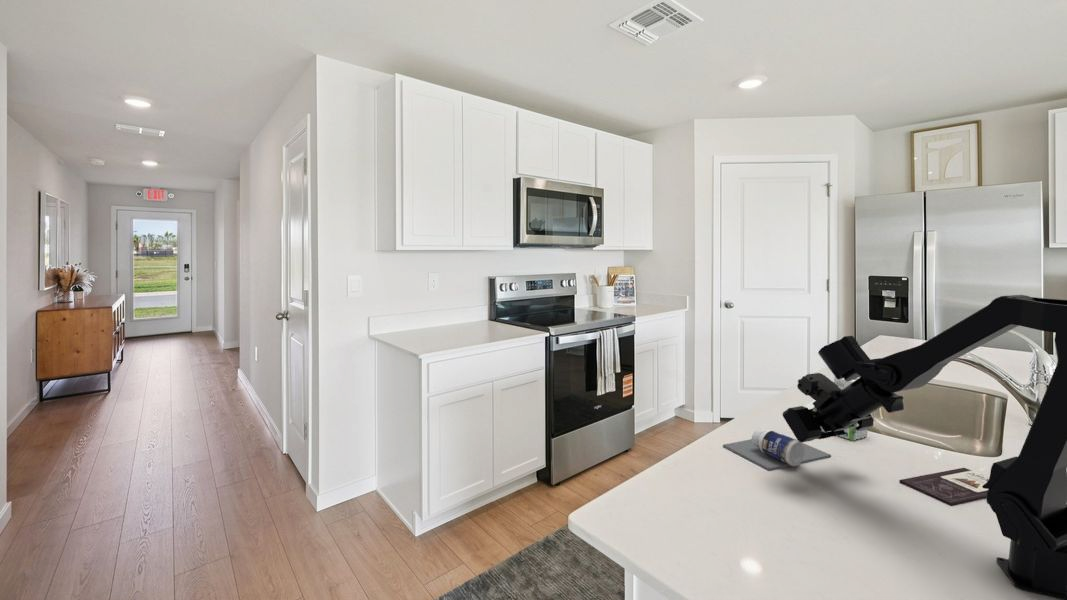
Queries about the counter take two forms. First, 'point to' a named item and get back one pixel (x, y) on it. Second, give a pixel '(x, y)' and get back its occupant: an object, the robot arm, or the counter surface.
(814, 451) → the mat
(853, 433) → the syrup box
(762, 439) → the pill bottle
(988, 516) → the counter surface
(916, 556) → the counter surface
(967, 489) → the chocolate bar
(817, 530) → the counter surface
